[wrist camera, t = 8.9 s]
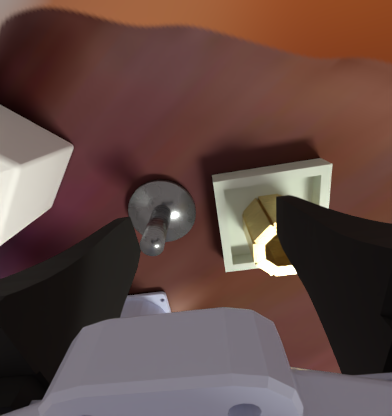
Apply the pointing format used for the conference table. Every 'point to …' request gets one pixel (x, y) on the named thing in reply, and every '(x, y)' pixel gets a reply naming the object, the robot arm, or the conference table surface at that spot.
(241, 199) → the tray
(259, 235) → the collar
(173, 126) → the conference table surface
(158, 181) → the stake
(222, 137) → the conference table surface
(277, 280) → the conference table surface
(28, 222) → the medicine bottle
